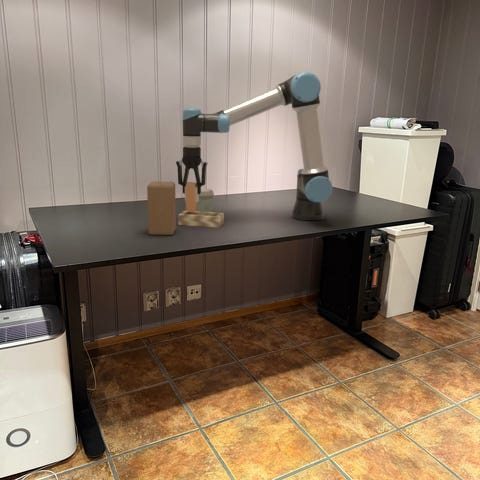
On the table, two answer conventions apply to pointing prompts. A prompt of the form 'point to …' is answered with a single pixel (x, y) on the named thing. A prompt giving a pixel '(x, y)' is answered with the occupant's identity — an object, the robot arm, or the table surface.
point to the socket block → (201, 219)
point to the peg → (191, 197)
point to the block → (161, 208)
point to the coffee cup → (205, 200)
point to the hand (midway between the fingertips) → (191, 201)
